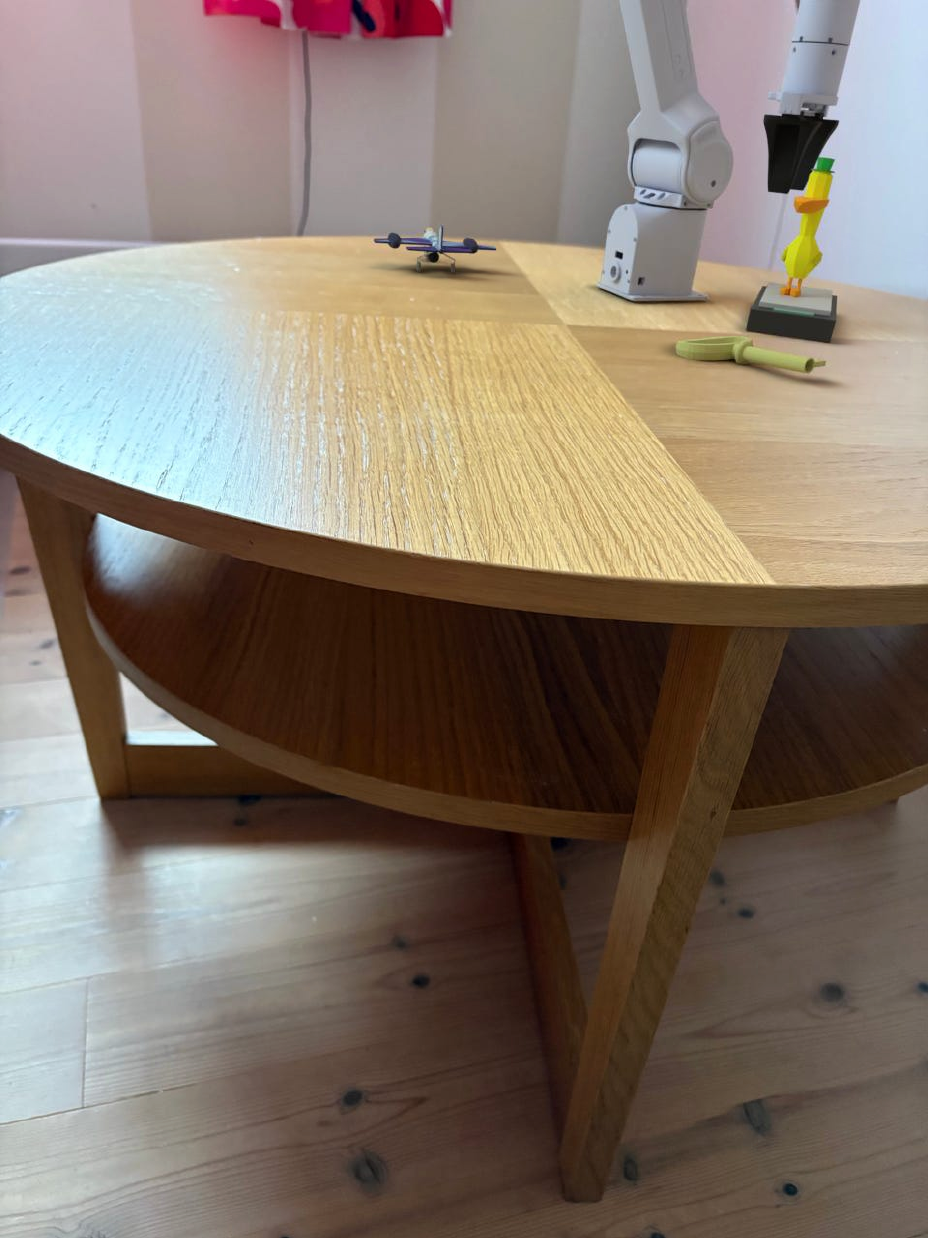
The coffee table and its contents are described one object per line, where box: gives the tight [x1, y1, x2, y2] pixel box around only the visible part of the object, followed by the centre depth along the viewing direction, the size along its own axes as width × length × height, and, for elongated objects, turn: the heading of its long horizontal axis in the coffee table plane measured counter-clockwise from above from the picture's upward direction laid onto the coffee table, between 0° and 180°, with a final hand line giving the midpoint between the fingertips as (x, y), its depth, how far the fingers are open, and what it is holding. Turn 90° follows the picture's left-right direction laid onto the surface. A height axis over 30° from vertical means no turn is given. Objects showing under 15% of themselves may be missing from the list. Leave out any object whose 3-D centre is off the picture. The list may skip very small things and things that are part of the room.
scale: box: [745, 281, 838, 343], centre depth 87 cm, size 14×8×2 cm, turn 159°
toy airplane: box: [373, 224, 497, 274], centre depth 100 cm, size 13×14×4 cm
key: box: [675, 335, 827, 375], centre depth 72 cm, size 7×12×2 cm, turn 51°
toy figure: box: [780, 156, 836, 297], centre depth 84 cm, size 7×4×12 cm, turn 141°
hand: (786, 191), depth 98 cm, fingers open, 7 cm apart
